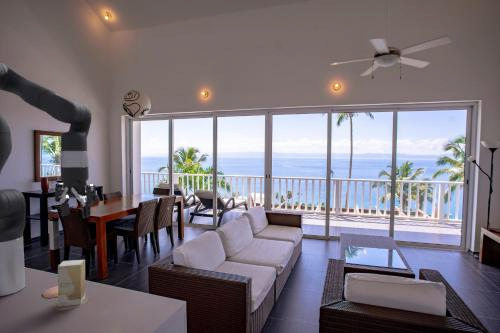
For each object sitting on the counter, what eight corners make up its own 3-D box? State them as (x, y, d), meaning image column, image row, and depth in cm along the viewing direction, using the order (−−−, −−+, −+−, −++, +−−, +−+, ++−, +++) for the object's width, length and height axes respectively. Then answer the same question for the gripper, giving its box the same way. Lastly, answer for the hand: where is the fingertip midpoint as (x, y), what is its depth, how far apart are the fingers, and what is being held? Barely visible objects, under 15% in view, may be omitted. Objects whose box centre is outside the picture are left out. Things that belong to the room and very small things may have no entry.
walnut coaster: (45, 309, 84) (45, 307, 84) (73, 295, 93) (73, 292, 93) (68, 315, 81) (68, 312, 81) (95, 299, 90) (95, 297, 90)
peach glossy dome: (36, 296, 91) (36, 294, 91) (59, 285, 99) (59, 283, 99) (56, 300, 89) (56, 297, 89) (78, 288, 96) (78, 286, 96)
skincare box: (57, 307, 84) (56, 266, 83) (63, 300, 88) (61, 260, 88) (82, 304, 86) (80, 264, 85) (86, 297, 90) (85, 258, 89)
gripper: (46, 165, 89) (47, 217, 90) (81, 166, 85) (83, 221, 85) (68, 164, 96) (69, 212, 97) (102, 165, 92) (103, 215, 93)
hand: (75, 216), depth 91 cm, fingers open, 8 cm apart
